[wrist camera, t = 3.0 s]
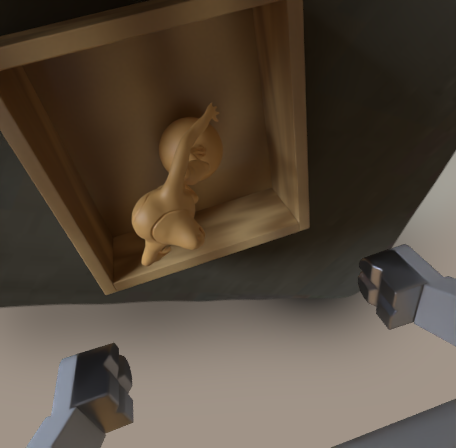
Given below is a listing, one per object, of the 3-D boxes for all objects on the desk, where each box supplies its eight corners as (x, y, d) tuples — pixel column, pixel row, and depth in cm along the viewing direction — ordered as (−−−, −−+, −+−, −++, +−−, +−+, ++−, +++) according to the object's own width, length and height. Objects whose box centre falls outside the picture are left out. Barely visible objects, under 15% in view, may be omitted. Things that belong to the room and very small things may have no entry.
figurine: (194, 196, 25) (241, 323, 16) (111, 179, 23) (110, 319, 14) (234, 86, 21) (328, 170, 12) (140, 51, 19) (167, 124, 10)
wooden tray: (106, 243, 26) (105, 295, 22) (-8, 37, 17) (-47, 58, 13) (279, 189, 28) (310, 228, 24) (259, -27, 19) (302, -27, 14)
